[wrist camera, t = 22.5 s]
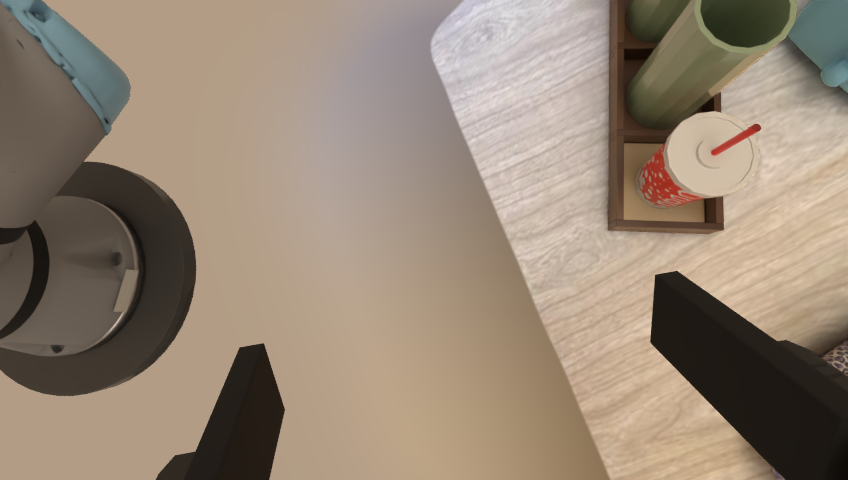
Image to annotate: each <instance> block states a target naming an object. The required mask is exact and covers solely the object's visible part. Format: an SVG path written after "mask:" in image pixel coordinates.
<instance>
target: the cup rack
mask: <svg viewBox="0 0 848 480" xmlns="http://www.w3.org/2000/svg"><path fill="white" fill-rule="evenodd" d="M629 1H630V0H610V52H609V210H608V230H611V231H639V232H668V233H696V234H710V233H714V232H718V231H722V230H724V224H723V223H724V214H723V196H722V197H713V198H704V199H700V200H697V201H693V202H690V203H686V204H683V205H680V206H676V207H673V208H666V209H658V208H654V207H651V206H649V205H648V204H646V203H645V202H643V201H642V200H641V198H640V197H639V195H638V194H637V192H636V187H635V179H636V175H637V172H638V171H639V170H640V168H641V167H642V166H643V165H644V164H645V163H646V162H647V161H648V160H649V159H650V158H651V157H652V156H653V155H654V154H655V153H656V152H657V151H658V150H659V149H660V148H661V147H662V146H663V145H664V144H665V143H666V141H667V138H668V137H669V136H670V134H671V133H672V132H673V131H674V129H675V128H676V127H677V126H676V127H673V128H670V129H665V130H655V129H650V128H647V127H645V126H643V125H641V124H639V123H638V122H637V121H635V120H634V118H633V117H632V116H631V115H630V113H629V111H628V109H627V106H626V102H625V94H626V90H627V86H628V85H629V83H630V81H631V80H632V78H633V77H634V75H635V74H636V73H637V71H638V70H639V69H640V67H641V66H642V64H643V63H644V62H645V60H646V59H647V58H648V56H649V55H650V54H651V52H652V51H653V50H654V48H655V47H656V45H657V44H658V43H659V42H641V41H639V40H638V39H636V38H635V37H634V36H633V35H632V34H631V32H630V31H629V29H628V27H627V24H626V18H625V15H626V9H627V5H628V3H629ZM713 111H716V112H720V113H721V91H720V92H719V93H718V94H717V95H716V96H714V97H713V98H712V99H711V100H709V101H708V102H707V103H706V104H705V105H703V106H702V107H701V108H700V109H699V110H697V111H696V112H695V113H694V114H692V115H691V116H693V115H695V114H697V113H705V112H713ZM691 116H690V117H691ZM690 117H689V118H690Z"/></svg>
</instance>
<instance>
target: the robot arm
mask: <svg viewBox="0 0 848 480" xmlns="http://www.w3.org/2000/svg"><path fill="white" fill-rule="evenodd" d="M130 89H131V87H130V83H129V79H128V78H127V76H126V74H125V73H124V72H123V71H122V70H121V69H120V67H119V66H118V65H116V64H115V63H114V62H113V61H112V60H111V59H110V58H109V57H108V56H107V55H106V54H104V53H103V52H102V51H101V50H100V49H99V48H98V47H96V46H95V45H94V44H93V43H92V42H91V41H89V40H88V39H87V38H86V37H85V36H84V35H83V34H81V33H80V32H79V31H78V30H77V29H76V28H74V27H73V26H72V25H71V24H70V23H68V22H67V21H66V20H65V19H64V18H62V17H61V16H60V15H59V14H58V13H56V12H55V11H54V10H52V9H51V8H50V7H48V6H47V5H46V3H45V2H43V1H42V0H0V347H2V348H6V349H10V350H15V351H19V352H24V353H28V354H33V355H39V356H53V357H55V356H66V355H72V354H79V353H83V352H87V351H90V350H93V349H95V348H97V347H99V346H101V345H103V344H104V343H106V342H108V341H109V340H110V339H112V338H113V337H114V336H115V335H116V334H117V333H119V332H120V331H121V329H122V328H123V327H124V326H125V325H126V324H127V322H128V321H129V320H130V318H131V317H132V315H133V313H134V312H135V310H136V308H137V306H138V303H139V301H140V298H141V295H142V292H143V288H144V282H145V270H146V266H145V256H144V251H143V247H142V244H141V241H140V239H139V236H138V234H137V232H136V231H135V229H134V227H133V226H132V224H131V223H130V222H129V221H128V220H127V219H126V218H125V217H124V216H123V215H122V214H121V213H120V212H119V211H117V210H116V209H114V208H113V207H111V206H109V205H107V204H104V203H102V202H99V201H95V200H91V199H87V198H82V197H76V196H55V195H56V194H57V193H58V191H59V190H60V189H61V188H62V187H63V186H64V184H65V183H66V182H67V181H68V180H69V178H70V177H71V176H72V175H73V174H74V172H75V171H76V170H77V169H78V168H79V166H80V165H81V164H82V163H83V162H84V160H85V159H86V158H87V157H88V156H89V154H90V153H91V152H92V151H93V150H94V148H95V147H96V146H97V145H98V144H99V142H100V141H101V140H102V139H103V138H104V137H105V135H108V134H109V132H110V131H111V125H112V124H113V122H114V121H115V119H116V118H117V116H118V115H119V114H120V112H121V111H122V109H123V108H124V106H125V105H126V104H127V102H128V100H129V97H130ZM650 343H651V344H652V345H653V346H654V347H655V348H656V349H657V350H658V351H659V352H660V353H661V354H662V355H663V356H664V357H665V358H666V359H667V360H668V361H669V362H670V363H671V364H672V365H673V366H674V367H675V368H676V369H677V370H678V371H679V372H680V373H681V374H682V375H683V376H684V377H685V378H686V379H687V380H688V381H689V382H690V383H691V385H692V386H693V387H694V388H695V389H696V390H697V391H698V392H699V393H700V394H701V395H702V396H703V397H704V398H705V399H706V400H707V401H708V402H709V403H710V404H711V405H712V406H713V407H714V408H715V409H716V410H717V411H718V412H719V413H720V414H721V415H722V416H723V417H724V418H725V419H726V420H727V421H728V422H729V423H730V424H731V425H732V426H733V427H734V428H735V429H736V430H737V431H738V432H739V433H740V434H741V436H742V437H743V438H744V439H745V440H746V441H747V442H748V443H749V444H750V445H751V446H752V447H753V448H754V449H755V450H756V451H757V452H758V453H759V454H760V455H761V456H762V457H763V458H764V459H765V460H766V461H767V462H768V463H769V464H770V465H771V466H772V467H773V468H774V469H775V470H776V471H777V472H778V473H779V474H780V475H781V476H782V477H783V478H784V479H785V480H848V375H846V376H845V375H844V374H843V372H842V371H840V370H839V369H837V368H836V367H834V366H833V365H829V364H828V362H827V361H825V360H824V359H822V358H821V357H819V356H818V355H816V354H815V353H813V352H812V351H810V350H809V349H806V348H804V347H801V346H799V345H797V344H794V343H792V342H789V341H787V340H784V341H778V342H777V341H776V340H774V339H773V338H771V337H770V336H769V335H767V334H766V333H764V332H763V331H762V330H760V329H759V328H757V327H756V326H754V325H753V324H752V323H750V322H749V321H747V320H746V319H744V318H743V317H742V316H740V315H739V314H737V313H736V312H735V311H733V310H732V309H730V308H729V307H727V306H726V305H725V304H723V303H722V302H720V301H719V300H717V299H716V298H715V297H713V296H712V295H710V294H709V293H707V292H706V291H705V290H703V289H702V288H700V287H699V286H698V285H696V284H695V283H693V282H692V281H690V280H689V279H688V278H686V277H685V276H683V275H682V274H680V273H679V272H678V271H674V272H669V273H663V274H657V275H655V286H654V299H653V313H652V327H651V340H650ZM284 411H285V409H284V406H283V403H282V399H281V396H280V393H279V390H278V387H277V384H276V380H275V377H274V374H273V371H272V368H271V365H270V361H269V358H268V355H267V352H266V349H265V346H264V344H257V345H251V346H246V347H240V348H239V350H238V353H237V355H236V357H235V360H234V362H233V365H232V367H231V369H230V372H229V374H228V376H227V379H226V381H225V383H224V386H223V388H222V391H221V393H220V395H219V398H218V400H217V402H216V405H215V407H214V409H213V412H212V414H211V416H210V419H209V421H208V424H207V426H206V428H205V431H204V433H203V436H202V438H201V440H200V442H199V445H198V447H197V449H196V452H191V453H186V454H181V455H175V456H174V457H173V458H172V460H171V461H170V462H169V463H168V464H167V465H166V466H165V467H164V469H163V470H162V471H161V472H160V473H159V474H158V477H157V478H156V480H269V478H270V473H271V469H272V464H273V460H274V455H275V451H276V447H277V442H278V438H279V433H280V429H281V424H282V419H283V415H284Z"/></svg>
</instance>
